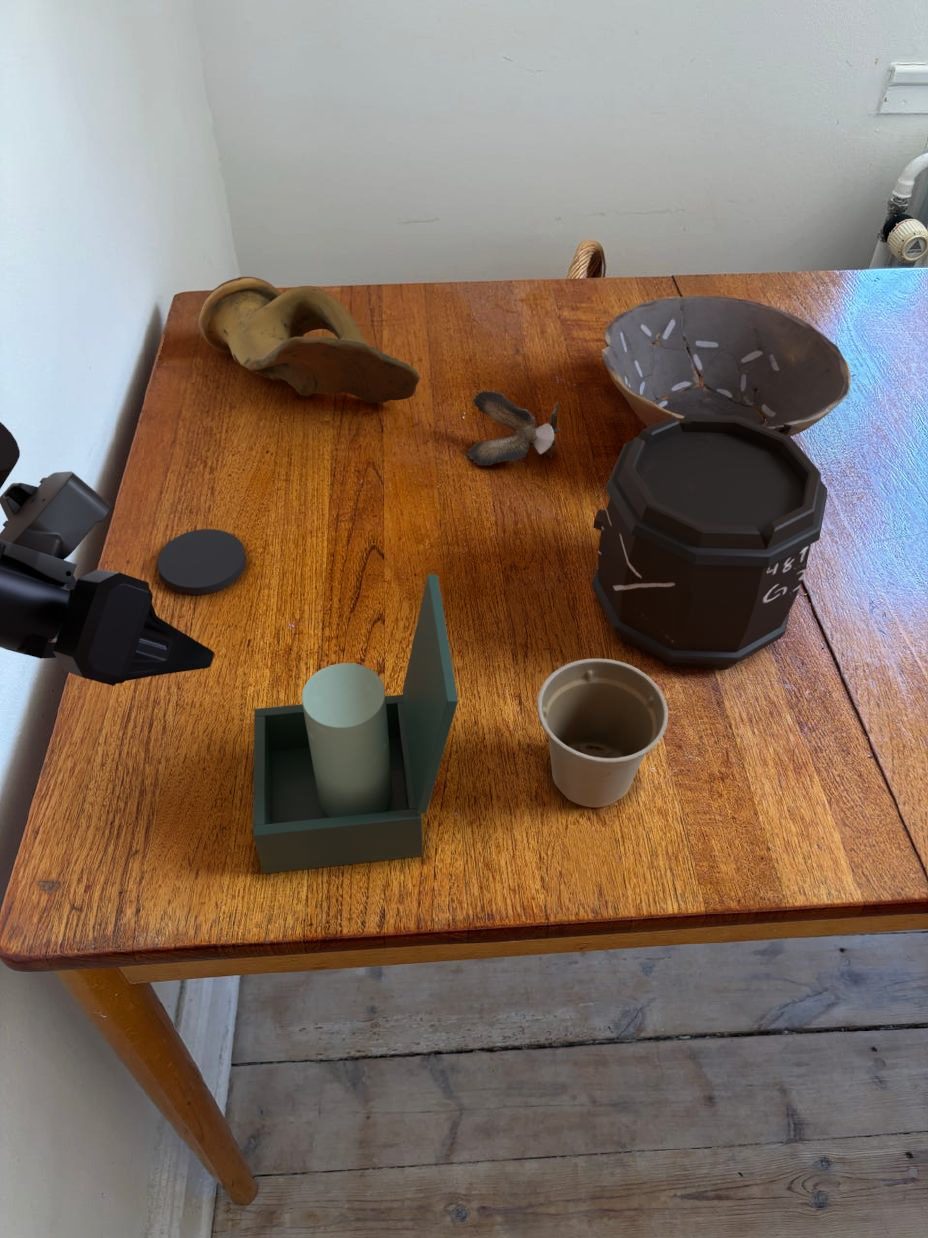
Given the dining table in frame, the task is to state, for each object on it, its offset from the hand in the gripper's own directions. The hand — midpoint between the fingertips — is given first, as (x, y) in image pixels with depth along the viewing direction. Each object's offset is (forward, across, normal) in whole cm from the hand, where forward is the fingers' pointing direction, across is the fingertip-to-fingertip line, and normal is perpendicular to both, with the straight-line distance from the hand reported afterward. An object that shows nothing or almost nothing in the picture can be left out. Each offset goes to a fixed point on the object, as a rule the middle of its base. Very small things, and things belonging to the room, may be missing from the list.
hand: (180, 651), depth 69 cm
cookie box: (+16, -1, +7) cm, 17 cm away
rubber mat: (+11, +24, -9) cm, 28 cm away
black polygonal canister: (+42, -7, -17) cm, 46 cm away
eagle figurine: (+36, +15, -30) cm, 50 cm away
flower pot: (+30, -12, 0) cm, 33 cm away
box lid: (+13, -10, -2) cm, 17 cm away
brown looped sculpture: (+22, +36, -34) cm, 54 cm away
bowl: (+52, +4, -39) cm, 65 cm away
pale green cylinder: (+16, -2, +6) cm, 18 cm away
